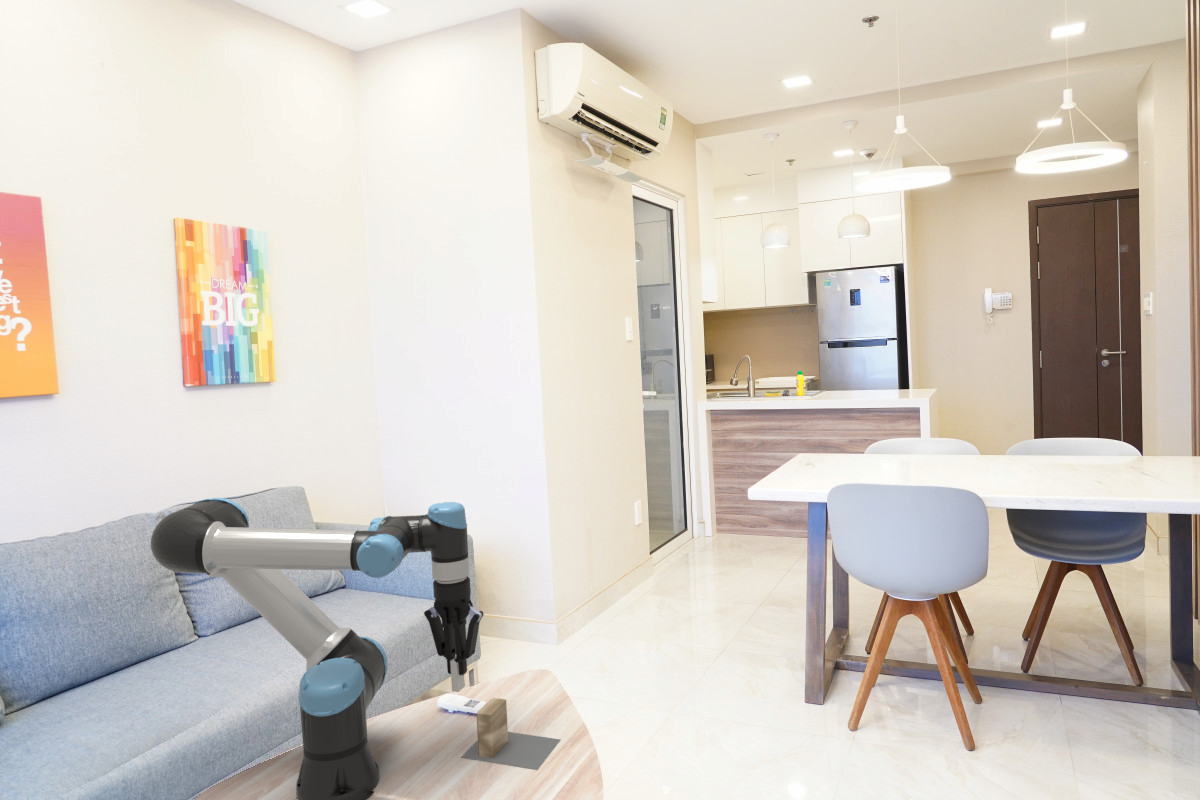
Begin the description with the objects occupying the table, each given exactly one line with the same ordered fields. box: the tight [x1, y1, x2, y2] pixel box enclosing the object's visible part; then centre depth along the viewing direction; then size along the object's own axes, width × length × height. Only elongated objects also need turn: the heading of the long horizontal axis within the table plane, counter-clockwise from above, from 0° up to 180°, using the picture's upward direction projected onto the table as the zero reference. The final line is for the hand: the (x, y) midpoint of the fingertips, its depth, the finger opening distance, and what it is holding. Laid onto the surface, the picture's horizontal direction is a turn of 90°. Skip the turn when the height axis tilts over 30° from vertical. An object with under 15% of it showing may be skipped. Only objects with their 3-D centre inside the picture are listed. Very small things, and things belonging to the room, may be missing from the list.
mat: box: [460, 731, 561, 771], centre depth 159 cm, size 17×12×1 cm
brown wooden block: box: [475, 697, 509, 758], centre depth 159 cm, size 3×7×9 cm, turn 161°
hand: (458, 688), depth 161 cm, fingers closed
